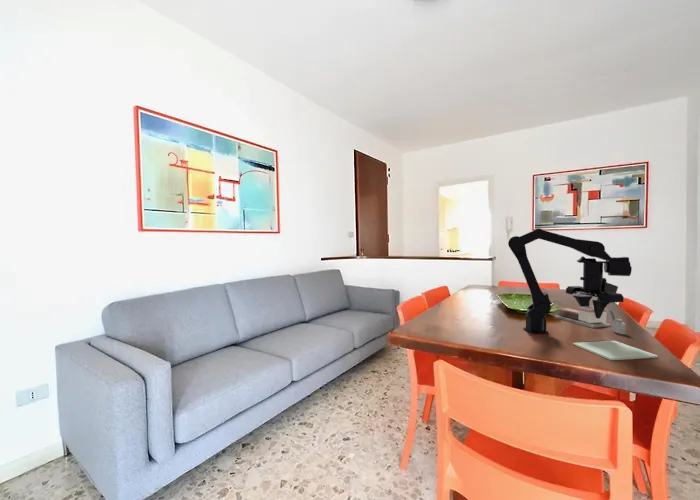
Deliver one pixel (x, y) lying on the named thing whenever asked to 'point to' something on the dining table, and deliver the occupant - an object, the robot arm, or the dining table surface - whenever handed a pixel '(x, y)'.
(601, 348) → the mat
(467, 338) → the dining table surface
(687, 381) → the dining table surface
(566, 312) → the packaged product
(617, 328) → the lighter
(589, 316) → the white box
